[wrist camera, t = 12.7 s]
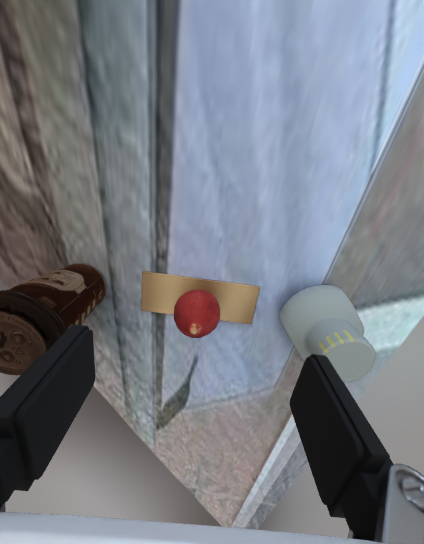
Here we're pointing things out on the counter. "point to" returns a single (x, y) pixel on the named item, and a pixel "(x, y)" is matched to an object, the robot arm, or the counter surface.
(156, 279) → the row strip
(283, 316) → the air freshener
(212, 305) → the onion
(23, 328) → the coffee cup
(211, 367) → the counter surface
